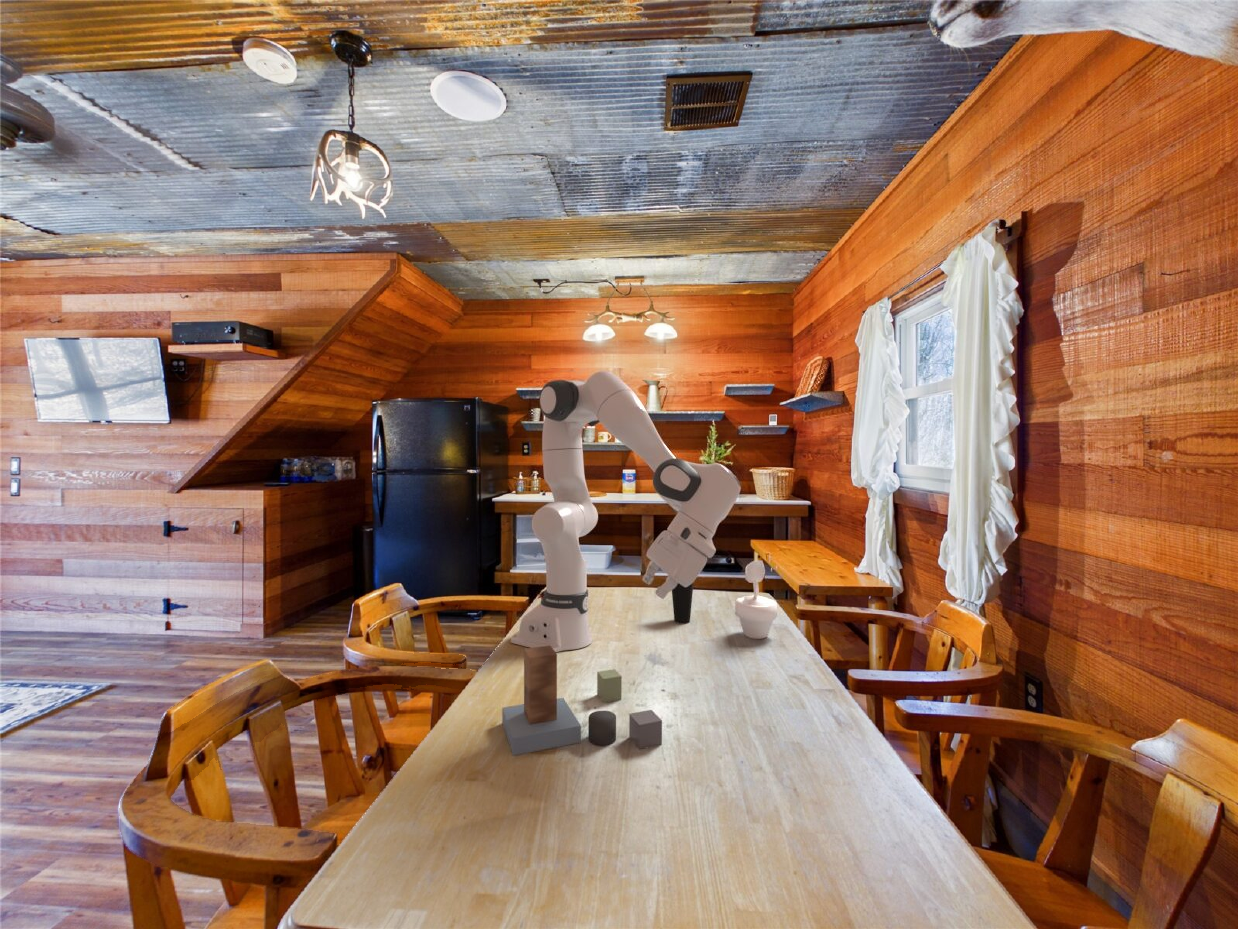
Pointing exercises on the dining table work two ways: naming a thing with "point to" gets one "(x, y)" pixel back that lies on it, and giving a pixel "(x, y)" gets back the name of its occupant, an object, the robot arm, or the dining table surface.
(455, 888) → the dining table surface
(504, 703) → the dining table surface
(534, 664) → the walnut block
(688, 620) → the drinking cup
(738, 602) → the potted plant
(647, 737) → the mauve grey cube
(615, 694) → the olive block
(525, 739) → the slate riser
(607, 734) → the charcoal cylinder
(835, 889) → the dining table surface
